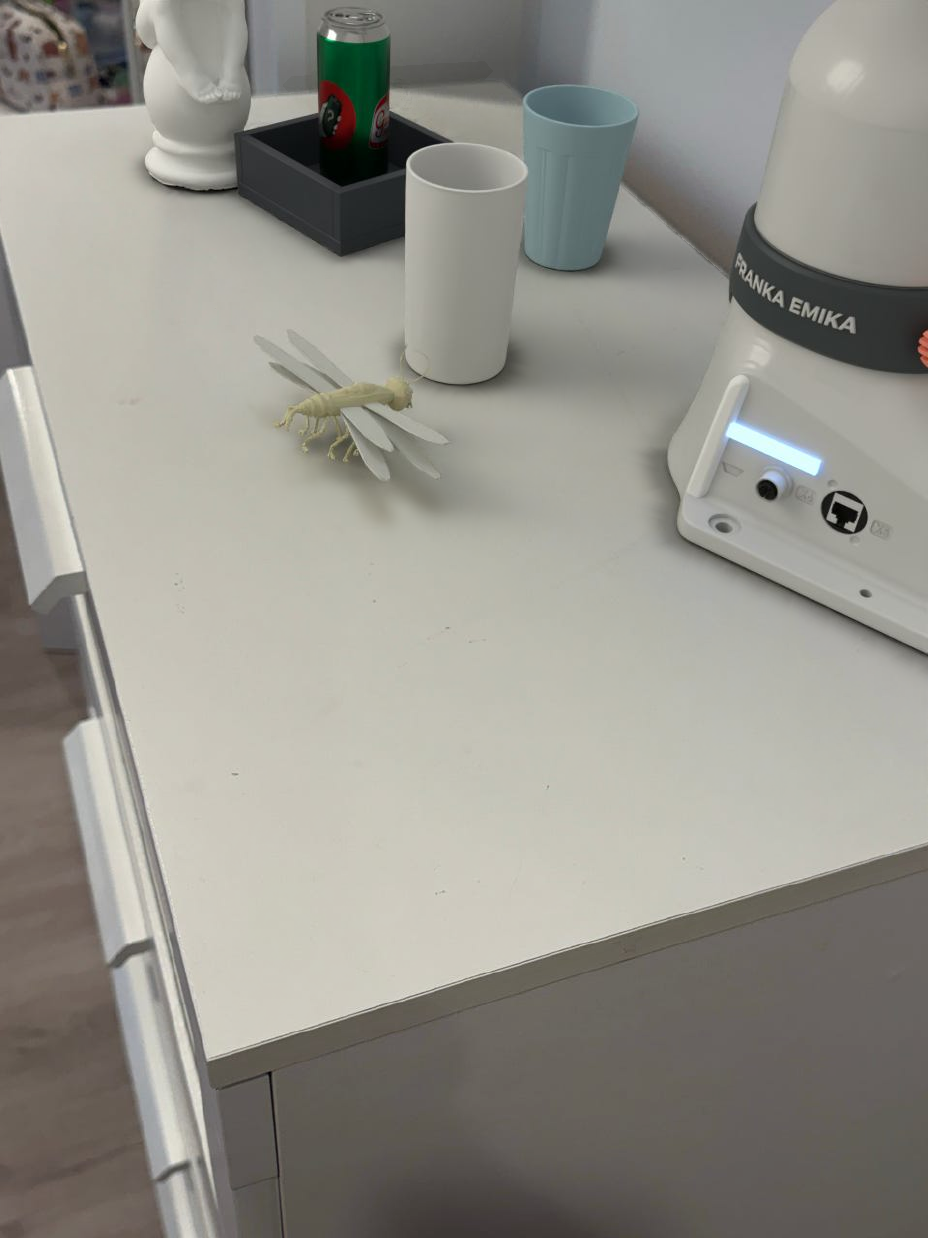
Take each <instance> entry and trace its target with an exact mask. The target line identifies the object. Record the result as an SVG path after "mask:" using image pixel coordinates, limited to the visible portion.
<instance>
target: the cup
mask: <svg viewBox="0 0 928 1238" xmlns="http://www.w3.org/2000/svg"><path fill="white" fill-rule="evenodd" d="M639 116H640V107H639V106H638V105H637V103H635V102H634V101H633V100H632V99H630V98H629V97H627V96H625V95H624V94H621V93H618V92H615V91H613V90H609V89H605V88H603V87H602V88H601V87H598V86H597V87H596V86H590V85H581V84H554V85H553V84H552V85H546V86H542V87H538V88H535V89H532V90H530V91H529V92H528V93H526V94H525V95H524V97H523V98H522V130H523V131H522V132H523V133H522V134H523V162H524V163H525V164H526V166H527V168H528V178H527V191H526V201H525V209H524V218H523V225H524V227H523V228H524V230H523V231H524V253H525V255H526V256H527V257H528V258H529V259H530V260H531V261H532V262H534V263H536V264H537V265H539V266H542V267H545V268H548V269H552V270H558V271H581V270H585V269H588V268H592V267H594V266H595V265H596V264H598V262H599V261H600V260H601V259H602V255H603V252H604V247H605V245H606V240H607V237H608V233H609V230H610V225H611V222H612V218H613V214H614V210H615V207H616V202H617V199H618V195H619V192H620V187H621V185H622V181H623V176H624V172H625V169H626V166H627V161H628V157H629V154H630V150H631V146H632V142H633V139H634V135H635V131H636V128H637V123H638V120H639Z"/></svg>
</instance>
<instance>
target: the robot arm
mask: <svg viewBox="0 0 928 1238" xmlns="http://www.w3.org/2000/svg"><path fill="white" fill-rule="evenodd" d="M761 180H762V181H761V185H760V189H759V193H758V197H757V201H755V202H754V203H753V204H752V205H751V206H750V207H749V208H748V209H747V211H746V213H745V216H744V219H743V223H742V226H741V230H740V234H739V237H738V241H737V244H736V249H735V253H734V256H733V261H732V265H731V270H730V274H729V277H728V278H729V279H728V302H729V306H728V309H727V313H726V315H725V319H724V323H723V325H722V328H721V332H720V334H719V337H718V339H717V343H716V346H715V349H714V351H713V354H712V357H711V359H710V362H709V365H708V366H707V370H706V372H705V374H704V376H703V379H702V381H701V383H700V385H699V387H698V390H697V393H696V395H695V396H694V399H693V400H692V403H691V404H690V407H689V409H688V411H687V412H686V414H685V415H684V418H683V420H682V421H681V423H680V424H679V426H678V428H677V429H676V431H675V432H674V434H673V435H672V437H671V438H670V441H669V444H668V447H667V455H666V456H667V457H666V458H667V466H668V471H669V473H670V476H671V479H672V481H673V483H674V486H675V488H676V489H677V491H678V494H679V500H680V501H679V506H678V511H677V516H676V526H677V530H678V532H679V535H681V536H682V537H683V538H685V539H686V540H687V541H689V542H690V543H693V544H694V545H697V546H699V547H701V548H703V549H705V550H707V551H710V552H711V553H713V554H716V555H717V556H719V557H722V558H724V559H726V560H728V561H731V562H732V563H735V564H737V565H739V566H741V567H743V568H745V569H747V570H749V571H752V572H753V573H756V574H758V575H760V576H762V577H764V578H766V579H769V580H770V581H772V582H774V583H777V584H779V585H780V586H783V587H785V588H787V589H789V590H792V591H794V592H796V593H798V594H800V595H802V596H804V597H806V598H808V599H810V600H813V601H815V602H817V603H819V604H821V605H823V606H825V607H828V608H829V609H832V610H834V611H836V612H837V613H841V614H842V615H844V616H846V617H849V618H851V619H853V620H855V621H857V622H859V623H861V624H863V625H865V626H867V627H870V628H872V629H874V630H876V631H878V632H880V633H882V634H884V635H886V636H889V637H890V638H893V639H895V640H897V641H898V642H900V643H903V644H906V645H908V646H910V647H912V648H913V649H916V650H918V651H920V652H922V653H925V654H927V655H928V0H836V1H834V2H833V3H831V5H830V6H829V7H827V8H826V9H825V10H824V11H823V12H822V13H821V14H820V15H819V17H817V19H816V20H814V22H812V24H811V25H810V27H809V28H808V29H807V30H806V32H805V33H804V35H803V36H802V38H801V40H800V41H799V43H798V45H797V46H796V49H795V50H794V53H793V55H792V58H791V60H790V63H789V67H788V69H787V75H786V78H785V83H784V87H783V91H782V96H781V100H780V104H779V108H778V113H777V117H776V121H775V125H774V129H773V134H772V139H771V142H770V146H769V151H768V155H767V159H766V163H765V166H764V171H763V176H762V179H761Z"/></svg>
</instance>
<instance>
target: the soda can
mask: <svg viewBox="0 0 928 1238" xmlns="http://www.w3.org/2000/svg"><path fill="white" fill-rule="evenodd" d="M391 36H392V35H391V32H390V30H389V28H388V26H387V25H386V16H385V15H384V14H383V13H382V12H380V11H377V10H375V9H371V8H367V7H361V6H338V7H333V8H329V9H326V10H325V11H323V12H322V14H321V22H320V23H319V26H318V27H317V28H316V69H317V71H316V72H317V73H316V74H317V113H318V124H319V169H320V175H321V176H323V177H325V178H327V179H328V180H330V181H332V182H334V183H336V184H337V185H339V186H341V187H344V186H347V185H351V184H354V183H358V182H361V181H364V180H368V179H371V178H375V177H378V176H382V175H385V174H388V155H389V110H390V99H391V98H390V97H391V94H390V93H391V38H392V37H391Z"/></svg>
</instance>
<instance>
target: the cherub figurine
mask: <svg viewBox="0 0 928 1238" xmlns="http://www.w3.org/2000/svg"><path fill="white" fill-rule="evenodd" d="M135 15H136V16H135V29H136V32H137V35H138V37H139V38H140V40H141V42H142V43H143V45H145V47H146V48H148V49H150V50H151V53H150V54H149V58H148V61H147V63H146V66H145V71H144V76H143V86H142V87H143V97H144V98H143V99H144V103H145V107H146V109H147V112H148V115H149V117H150V119H151V122H152V124H153V126H154V128H155V130H154V131H153V132H152V142H153V144H154V146H153V147H152V148H150V150H148V152H147V153H146V155H145V158H144V165H145V167H146V169H147V170H148V171H147V172H148V173H147V174H149V175H150V176H151V177H153V178H154V179H155V180H157V181H158V182H160V184H163V185H167V186H174V187H176V186H178V187H180V188H181V187H184V189H190V190H194V191H204V190H205V191H209V190H210V189H211V190H214V191H215V190H216V191H217V190H220V191H221V190H223V189H224V190H228V189H232V188H238V185H237V172H236V158H235V144H234V133H237V132H241V131H245V128H246V125H247V122H248V121H249V116H250V111H251V106H252V92H251V90H252V89H251V84H250V80H249V76H248V74H247V71H246V68H245V66H244V64H245V57H246V54H247V50H248V43H249V32H248V25H247V19H246V4H245V0H139V7H138V8H137V12H136V14H135Z"/></svg>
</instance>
